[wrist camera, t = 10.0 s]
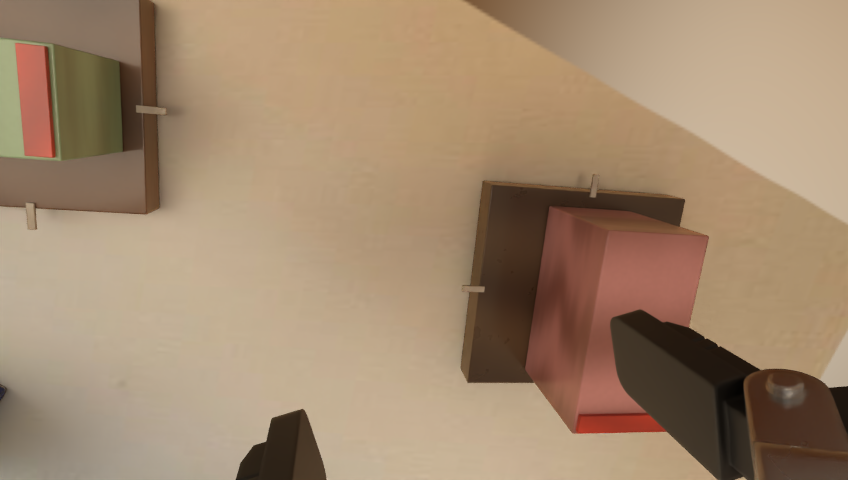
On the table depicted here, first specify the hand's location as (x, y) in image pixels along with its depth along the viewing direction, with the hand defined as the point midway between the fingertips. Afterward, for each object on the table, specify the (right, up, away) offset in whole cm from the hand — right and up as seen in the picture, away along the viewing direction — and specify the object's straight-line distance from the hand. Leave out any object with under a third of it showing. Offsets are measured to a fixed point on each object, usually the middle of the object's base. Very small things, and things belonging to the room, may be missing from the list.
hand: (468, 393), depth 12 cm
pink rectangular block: (+9, 0, +20) cm, 21 cm away
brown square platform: (+8, +1, +22) cm, 23 cm away
